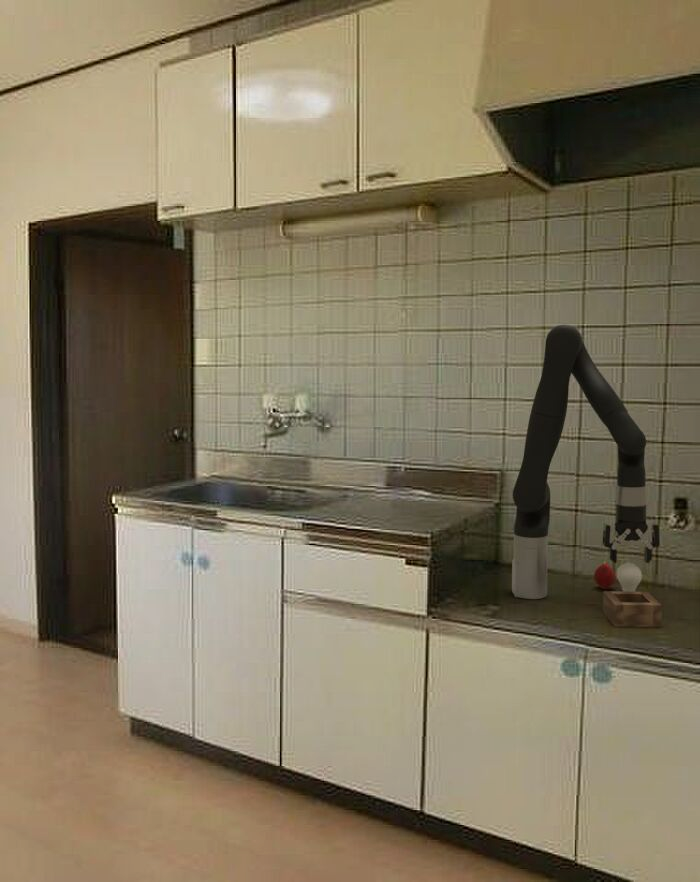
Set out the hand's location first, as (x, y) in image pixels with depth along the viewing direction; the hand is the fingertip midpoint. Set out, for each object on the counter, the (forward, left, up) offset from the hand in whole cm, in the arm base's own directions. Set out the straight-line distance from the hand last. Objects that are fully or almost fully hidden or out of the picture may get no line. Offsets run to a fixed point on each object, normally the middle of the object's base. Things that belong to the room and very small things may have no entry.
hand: (630, 562), depth 210 cm
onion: (-3, +13, -12) cm, 18 cm away
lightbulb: (0, 0, -12) cm, 12 cm away
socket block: (-3, -13, -11) cm, 17 cm away
